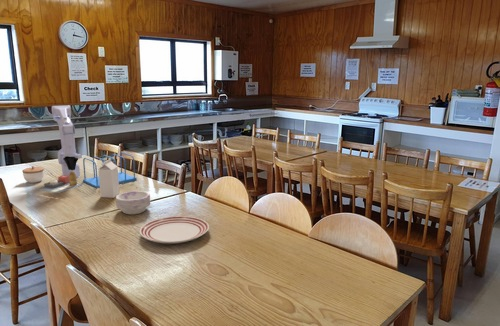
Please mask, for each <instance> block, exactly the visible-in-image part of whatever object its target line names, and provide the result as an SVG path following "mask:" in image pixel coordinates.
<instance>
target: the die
mask: <svg viewBox="0 0 500 326" xmlns="http://www.w3.org/2000/svg"><path fill="white" fill-rule="evenodd" d="M57 178H58V181H61V182H63V183H64V184H67V183H69V182H70V180H69V175H60V176H58V177H57Z"/></svg>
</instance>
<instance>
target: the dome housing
mask: <svg viewBox="0 0 500 326" xmlns="http://www.w3.org/2000/svg"><path fill="white" fill-rule="evenodd" d="M62 185H64V183H63V182H61V181H59V180H58V183H56V184H50V181H49V182H45V183H44V184H43V186H44V187H49V188H56V187H59V186H62Z"/></svg>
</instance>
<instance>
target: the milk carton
mask: <svg viewBox="0 0 500 326" xmlns="http://www.w3.org/2000/svg"><path fill="white" fill-rule="evenodd" d="M112 161H113V160H112ZM112 161H111V158H109V159H108V160H105V162H104V163H101V166H100V167H99V168H97V173H98V177H99V184H100V187H99V193H100V198H109V199H111V198H116V196H117V195H119V194H120V184H119V180H118V173H119V168H118V166H117V164H116V165H115V162H114V161H113V162H112Z"/></svg>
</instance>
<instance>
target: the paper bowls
mask: <svg viewBox="0 0 500 326" xmlns="http://www.w3.org/2000/svg"><path fill="white" fill-rule="evenodd" d="M115 204H116V209H118V210H121V212H122V213H124V214H126V215H137V214H141V213H143V212H145V211H146V209H147V208H148V207H150V205H151V195H150V193H149V192H147V191H142V190H131V191H127V192H121V193H119V194H118V195H117V196H116V197H115Z"/></svg>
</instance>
